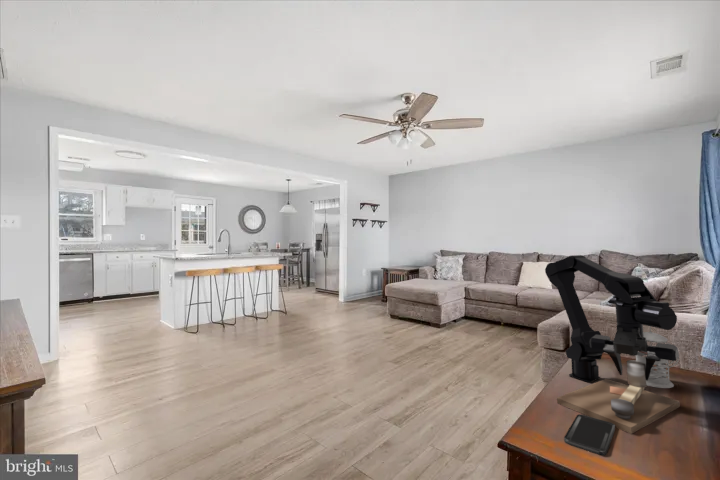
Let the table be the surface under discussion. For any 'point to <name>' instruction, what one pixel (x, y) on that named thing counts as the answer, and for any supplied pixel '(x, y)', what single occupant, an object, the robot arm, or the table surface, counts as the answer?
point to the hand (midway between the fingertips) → (633, 377)
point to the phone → (590, 434)
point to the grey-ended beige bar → (631, 388)
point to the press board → (601, 393)
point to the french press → (657, 363)
